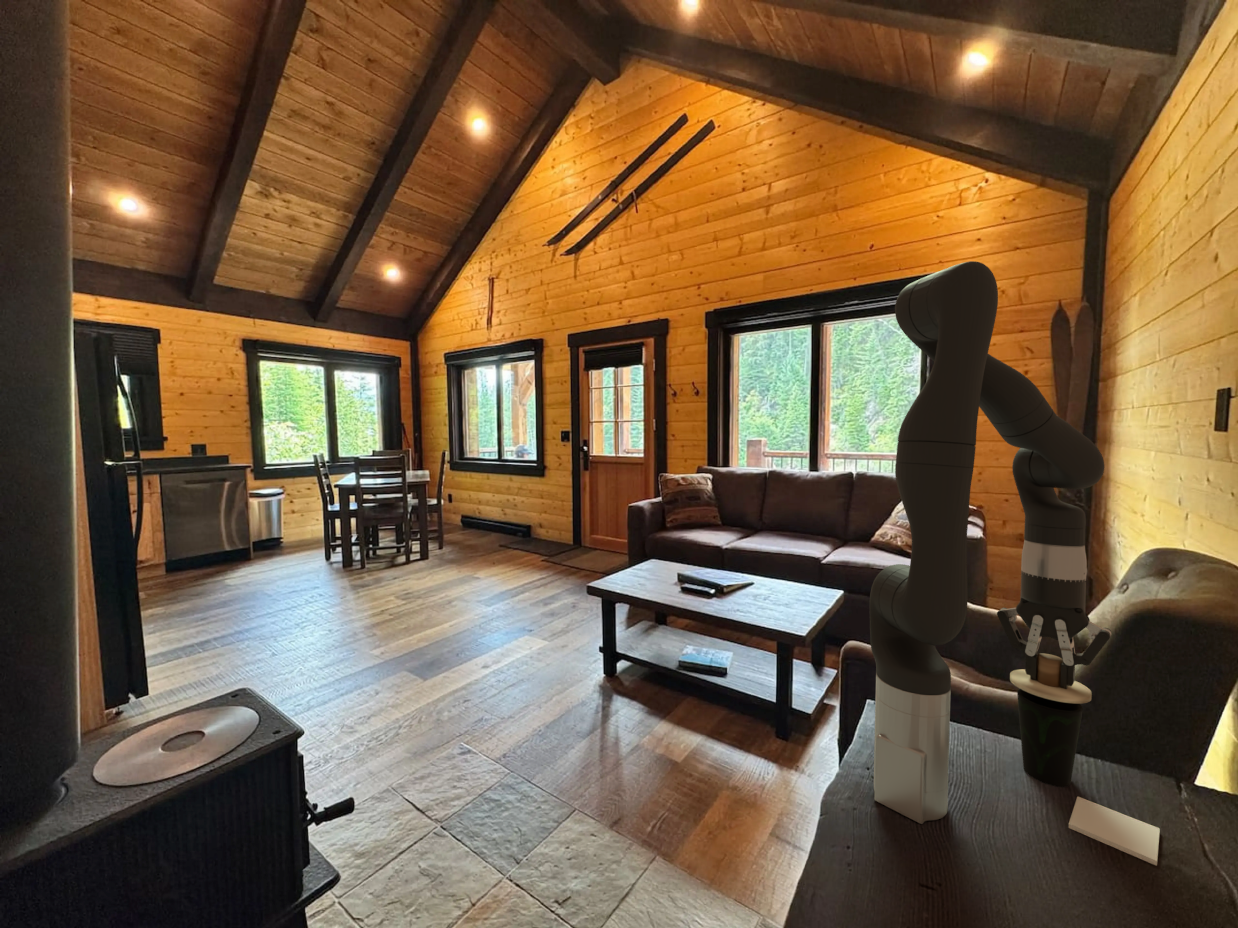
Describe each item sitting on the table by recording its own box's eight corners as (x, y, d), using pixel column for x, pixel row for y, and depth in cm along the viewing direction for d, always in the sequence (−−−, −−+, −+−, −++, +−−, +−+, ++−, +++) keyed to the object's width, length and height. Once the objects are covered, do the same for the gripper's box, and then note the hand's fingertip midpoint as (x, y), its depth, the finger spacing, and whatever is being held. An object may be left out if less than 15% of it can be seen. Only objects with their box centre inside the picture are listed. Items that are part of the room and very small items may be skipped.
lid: (1086, 710, 70) (1088, 676, 70) (1003, 686, 77) (1004, 655, 77) (1095, 689, 76) (1096, 658, 76) (1017, 668, 84) (1018, 640, 83)
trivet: (1156, 865, 60) (1157, 860, 60) (1068, 827, 66) (1068, 823, 66) (1159, 832, 65) (1159, 828, 65) (1077, 800, 71) (1077, 796, 71)
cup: (1054, 761, 81) (1056, 688, 80) (1094, 793, 73) (1097, 713, 73) (1003, 757, 81) (1005, 685, 81) (1037, 789, 74) (1040, 709, 73)
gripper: (990, 567, 79) (987, 674, 80) (1114, 585, 68) (1110, 708, 69) (1002, 560, 84) (999, 661, 84) (1119, 576, 73) (1115, 691, 74)
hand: (1049, 682), depth 77 cm, fingers closed on lid, 3 cm apart
